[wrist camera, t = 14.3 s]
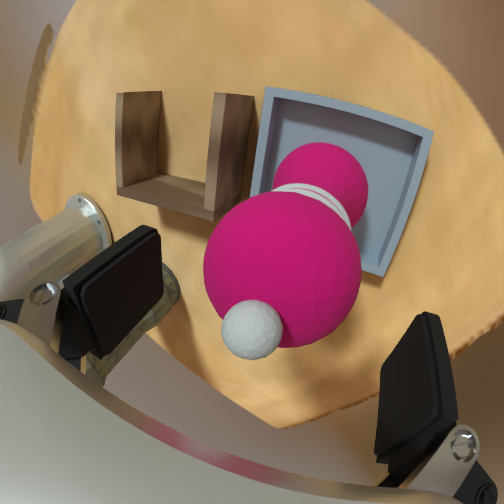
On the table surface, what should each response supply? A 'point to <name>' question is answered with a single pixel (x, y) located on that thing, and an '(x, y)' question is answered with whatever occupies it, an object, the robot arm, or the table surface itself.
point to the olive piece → (135, 331)
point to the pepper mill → (289, 254)
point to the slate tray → (361, 147)
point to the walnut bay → (175, 188)
